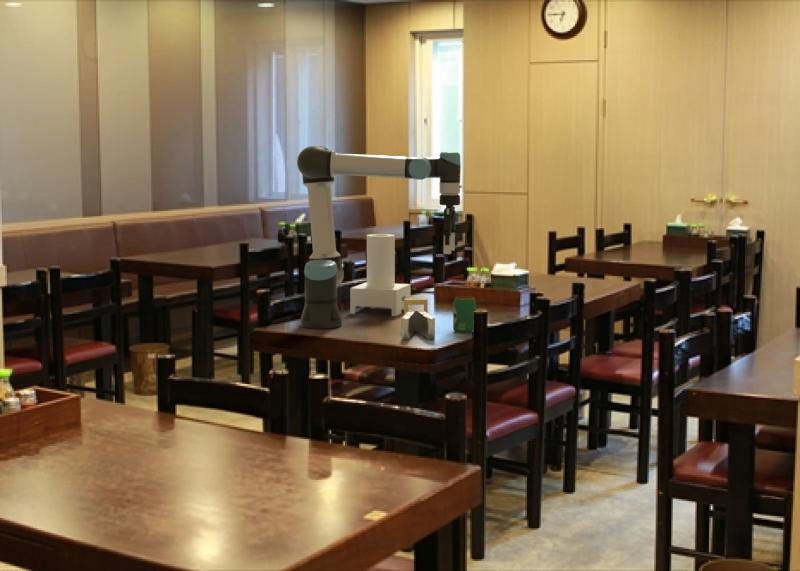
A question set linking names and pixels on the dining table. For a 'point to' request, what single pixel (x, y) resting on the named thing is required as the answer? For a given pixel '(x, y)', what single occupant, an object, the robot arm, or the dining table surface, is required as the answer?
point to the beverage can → (463, 314)
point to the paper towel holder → (380, 278)
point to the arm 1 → (408, 324)
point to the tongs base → (415, 317)
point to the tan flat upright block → (415, 302)
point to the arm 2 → (426, 324)
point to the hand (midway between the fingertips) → (449, 252)
